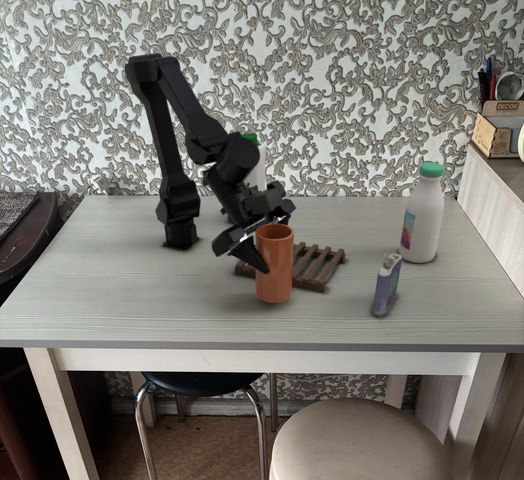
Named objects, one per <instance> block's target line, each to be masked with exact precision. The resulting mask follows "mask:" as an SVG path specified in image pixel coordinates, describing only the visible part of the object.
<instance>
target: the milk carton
mask: <svg viewBox="0 0 524 480" xmlns="http://www.w3.org/2000/svg"><path fill="white" fill-rule="evenodd" d="M241 135H242V137H245V138H247V139H249V140H251V141H252V142H253V143H254V144H255V145H256V146H258V148H259V151H260V160H259V162H258V164H257V165H256V167H255V168H254V169H253V170H252V172H251V173H250V174H249V175H248V177H247V178H246V179H245V180H244V183H245V184H246V186H247V187H248V188H250V187H253V188H255V189H256V190H257V192H258V193H259V192H262V191H264V190H266V173H265V172H266V156H267V145H266V144H262V143H258V135H257V134H256V133H251V132H250V133H249V132H248V133H247V132H246V133H242V134H241ZM227 223H230V224H234V223H233V221H232V220H231V218H230V217H229V215H228V214H227Z"/></svg>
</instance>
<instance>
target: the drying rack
mask: <svg viewBox="0 0 524 480" xmlns="http://www.w3.org/2000/svg"><path fill="white" fill-rule="evenodd" d="M254 245H255V247H256V243H254ZM345 250H346V249H344V248H339V249H338V250H337V251H334V250H332V246H327V245H326V246H325V247H324V248H323V249H322V248H319V244H317V243H316V244H315V243H313V244H312V245H311V246H307V242H306V241H300V242H299V243H298V244H296V243H294V246H293V253H294V257H293V262H294V261H295V260H296V259H297V257H299V256H303V257H302V258H301V259H300V261H299V263H297V265H296V266H295V267H294V269H293V273H292V287H294V288H300V289H304V290H309V291H314V292H319V293H323V294H324V293H325V292H326V291H327V289H328V282H327V280H328V279H329V277H330V276H331V274H332V273H333V271H334V269H335V268H336V266H337V265H338V263H341V264H343V263H345V262H346V256H347V253H345ZM311 258H314V259H316V260H315V261H314V263H313V264H312V265H311V266H310V268H309V270H308V271H307V272H306V273H305V275H304V276H299V274H300V273H301V272H302V271H303V269H304V268H305V266H306V265H307V264H308V262H309V261H310V260H311ZM324 261H330V262H329V263H328V265H327V266H326V268H325V269H324V271H322V274H321V275H320V276H319V278H318V279H314V276H315V274H316V273H317V271H318V270H319V268H320V267H321V266H322V265H323V263H324ZM246 264H247V263H246V262H244V261H242V260H240V259H239V260H238V262H237V263H236V264H235V266H234V275H238V276H243V277H247V278H251V279H256V268H254V267H252V266H251V265H246ZM312 278H313V279H312Z"/></svg>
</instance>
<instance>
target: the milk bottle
mask: <svg viewBox="0 0 524 480" xmlns="http://www.w3.org/2000/svg"><path fill="white" fill-rule="evenodd" d="M444 171H445V166H444V165H443V164H441V163H438V162H433V161H432V162H431V161H430V162H429V161H428V162H423V163H422V164H420V167H419V172H418V177H419V179H418V182H417V184H416V185H415V188H414V189H413V190H412V192H411V193H410V196H409V197H408V200H407V203H406V206H405V211H404V216H403V217H404V218H403V224H402V229H401V237H400V243H399V249H398V254H400V255H401V256H402V260H405V261H407V262H410V263H416V264H424V263H429V262H431V261H432V260H433V259H434V258H435V256H436V252H437V246H438V243H439V237H440V231H441V228H442V227H441V226H442V221H443V216H444V209H445V200H444V195H443V191H442V185H441V180H442V178H443V174H444Z"/></svg>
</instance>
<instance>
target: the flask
mask: <svg viewBox="0 0 524 480" xmlns="http://www.w3.org/2000/svg"><path fill="white" fill-rule="evenodd" d="M383 258H385V259H384V260H383V261H382V263H380V264H381V265H380V266H379V269H378V272H377V278H376V283H375V284H376V285H375V291H374V292H375V293H374V299H373V305H372V314H373V315H374V316H375V317H380V318H382V317H383V316H385V315H386V314H387V311H388V310H389V309H390V307H391V304H392V303H393V302H394V301H395V299H396V298H397V291H398V286H399V280H400V274H401V269H402V264H403V258H402V256H401V255H400V253H388V252H386V253H385V254H384V255H383Z"/></svg>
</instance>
